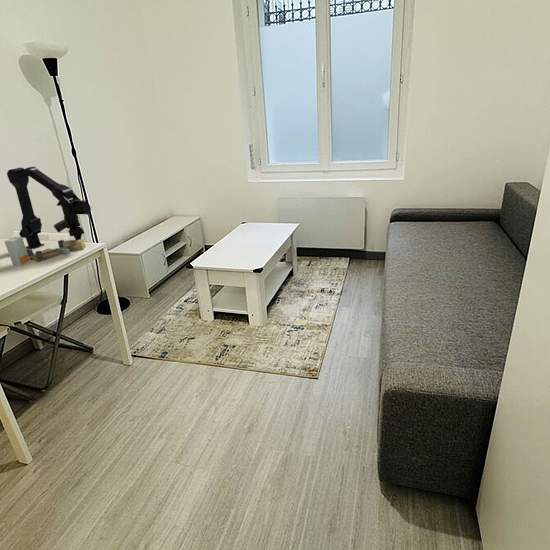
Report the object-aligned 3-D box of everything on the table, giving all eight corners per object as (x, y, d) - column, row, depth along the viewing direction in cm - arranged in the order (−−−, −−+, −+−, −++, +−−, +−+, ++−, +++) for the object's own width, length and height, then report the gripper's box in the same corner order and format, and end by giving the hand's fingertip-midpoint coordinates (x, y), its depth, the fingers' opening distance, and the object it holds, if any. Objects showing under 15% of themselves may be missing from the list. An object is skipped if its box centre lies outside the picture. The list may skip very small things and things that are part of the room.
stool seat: (27, 259, 184) (24, 250, 182) (54, 249, 194) (51, 241, 192) (39, 262, 178) (36, 253, 177) (66, 252, 189) (64, 243, 187)
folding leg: (58, 251, 191) (56, 242, 189) (62, 248, 194) (59, 240, 192) (82, 249, 191) (80, 240, 189) (85, 246, 194) (83, 238, 193)
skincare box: (20, 266, 175) (11, 241, 170) (12, 266, 176) (3, 241, 171) (30, 261, 181) (22, 236, 176) (23, 261, 182) (14, 236, 177)
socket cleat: (59, 253, 188) (57, 248, 187) (62, 252, 190) (60, 247, 189) (67, 255, 185) (65, 250, 184) (70, 253, 186) (69, 249, 185)
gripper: (50, 213, 192) (59, 242, 199) (53, 222, 178) (63, 253, 185) (74, 208, 197) (82, 237, 204) (79, 217, 183) (88, 247, 190)
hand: (79, 243), depth 195 cm, fingers closed
